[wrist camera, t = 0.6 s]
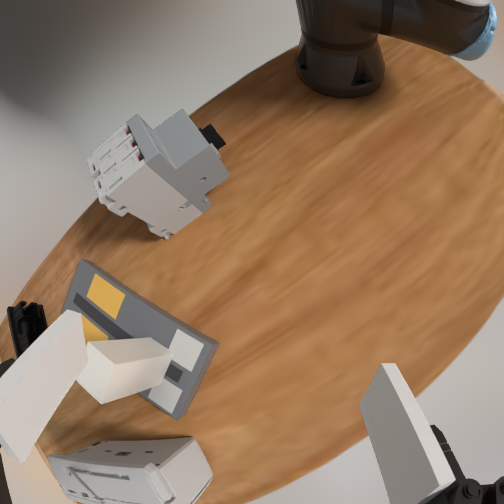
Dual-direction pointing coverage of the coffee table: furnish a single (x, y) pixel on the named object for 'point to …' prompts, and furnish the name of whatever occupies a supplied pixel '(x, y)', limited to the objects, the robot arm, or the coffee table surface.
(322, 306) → the coffee table surface
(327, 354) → the coffee table surface
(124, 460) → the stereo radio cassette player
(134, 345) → the slider tab
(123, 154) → the circuit breaker
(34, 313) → the end cap
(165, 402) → the grey flat board
